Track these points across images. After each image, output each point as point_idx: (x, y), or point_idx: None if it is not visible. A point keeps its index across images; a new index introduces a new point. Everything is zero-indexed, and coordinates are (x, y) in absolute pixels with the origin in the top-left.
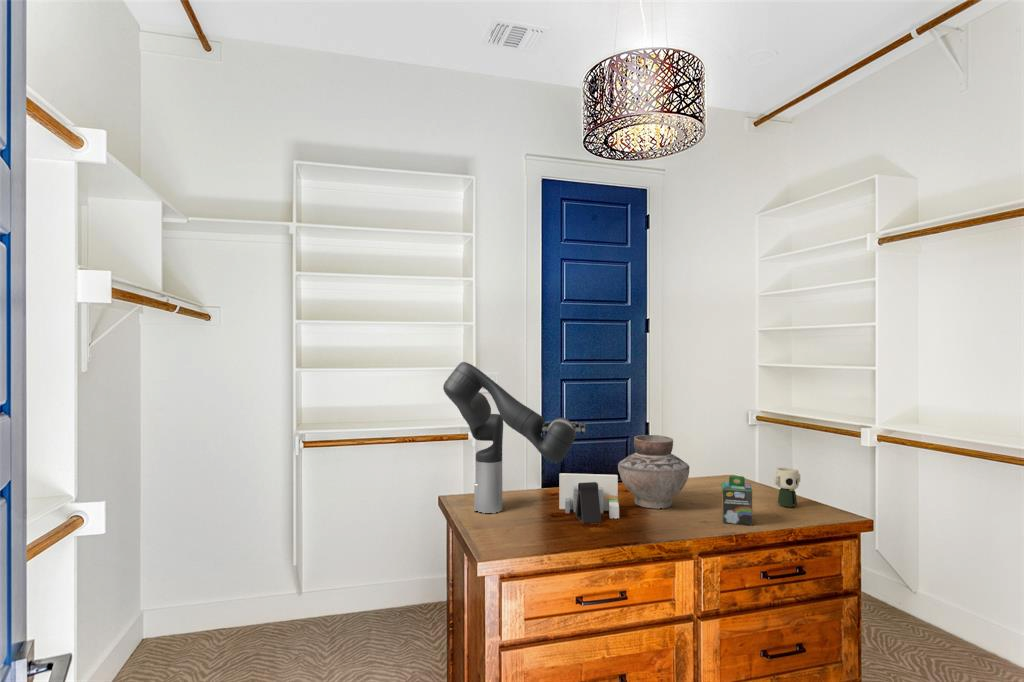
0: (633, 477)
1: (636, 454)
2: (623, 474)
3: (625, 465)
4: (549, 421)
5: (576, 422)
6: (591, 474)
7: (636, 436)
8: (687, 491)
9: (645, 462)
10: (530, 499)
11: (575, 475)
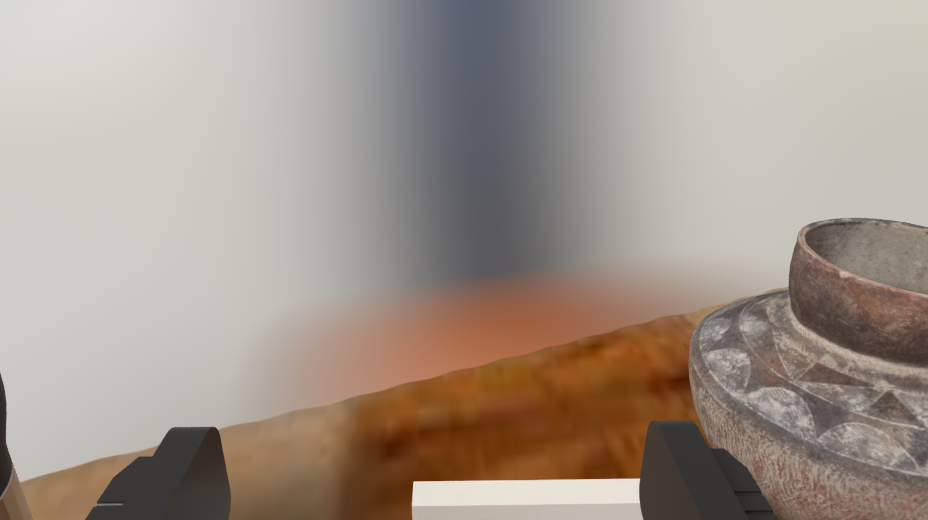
0: (829, 497)
1: (814, 340)
2: (750, 452)
3: (767, 411)
4: (177, 465)
5: (731, 516)
6: (594, 485)
7: (803, 236)
8: None
9: (908, 417)
10: (286, 515)
11: (506, 507)
